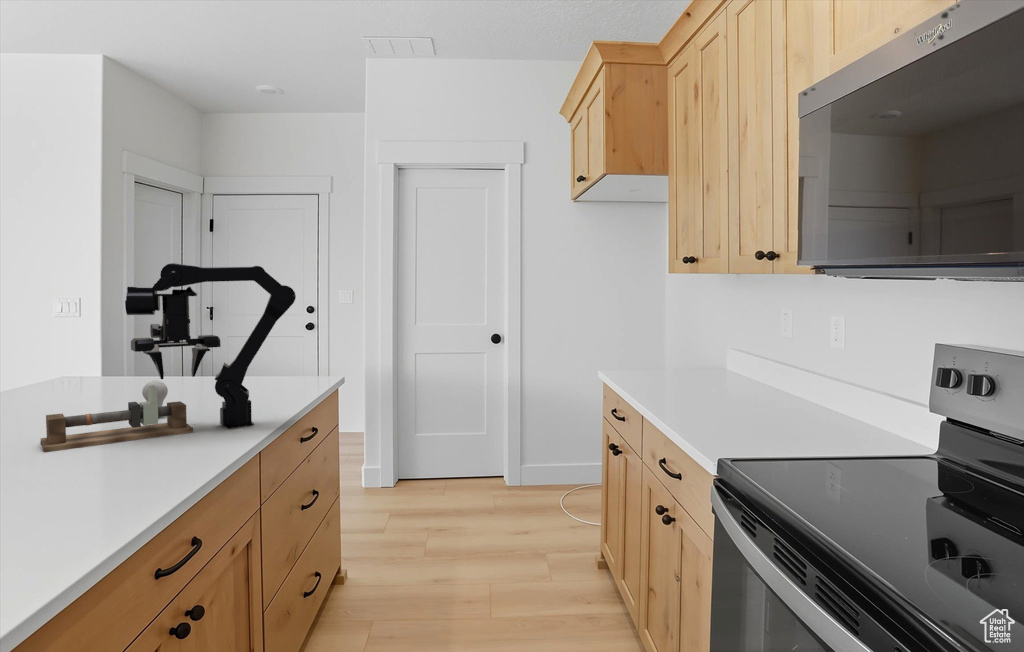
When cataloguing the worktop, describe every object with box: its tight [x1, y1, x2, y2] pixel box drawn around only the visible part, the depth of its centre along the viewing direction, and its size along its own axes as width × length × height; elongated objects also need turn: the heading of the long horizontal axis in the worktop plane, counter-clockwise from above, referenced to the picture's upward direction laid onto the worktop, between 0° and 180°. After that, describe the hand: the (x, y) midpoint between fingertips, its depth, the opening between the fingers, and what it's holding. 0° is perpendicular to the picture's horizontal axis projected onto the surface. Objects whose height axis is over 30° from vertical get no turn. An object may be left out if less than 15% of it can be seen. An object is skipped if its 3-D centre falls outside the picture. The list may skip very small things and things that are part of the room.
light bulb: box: [141, 379, 168, 407], centre depth 164 cm, size 6×6×10 cm
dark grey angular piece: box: [127, 401, 142, 428], centre depth 144 cm, size 2×5×5 cm, turn 41°
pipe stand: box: [40, 400, 194, 453], centre depth 143 cm, size 29×10×6 cm, turn 131°
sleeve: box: [138, 385, 159, 426], centre depth 146 cm, size 3×5×9 cm, turn 41°
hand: (177, 377), depth 150 cm, fingers open, 7 cm apart
